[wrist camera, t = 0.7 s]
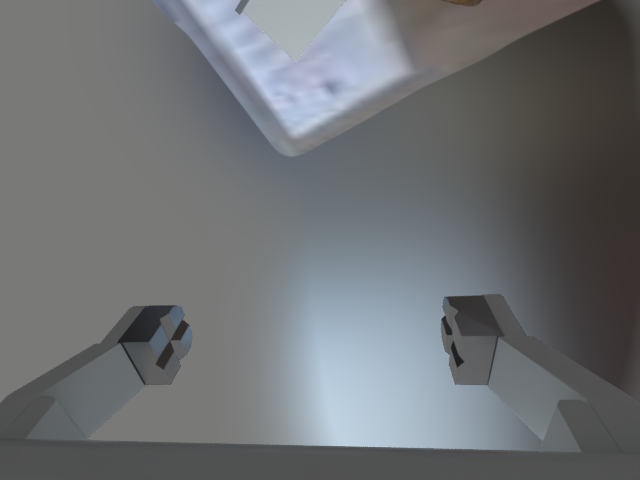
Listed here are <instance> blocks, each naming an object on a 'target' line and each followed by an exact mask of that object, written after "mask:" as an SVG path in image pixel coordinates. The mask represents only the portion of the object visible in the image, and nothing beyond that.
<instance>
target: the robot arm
mask: <svg viewBox="0 0 640 480" xmlns="http://www.w3.org/2000/svg"><path fill="white" fill-rule="evenodd" d="M443 310H444V313H445V316H444V317H443V318H442V320H441V333H442V340H443V345H444V349H445V351H446V352H447V353H448V354H449V355H450V359H449V366H450V369H451V372H452V376H453V379H454V382H455V384H460V385H488V387H489V388H490V389H491V390H492V391H493V392H494V393H495V394H496V395H497V396H498V397H499V398H500V399H501V400H502V401H503V402H504V403H505V404H506V405H507V406H508V407H509V408H510V409H511V410H512V411H513V412H514V413H515V414H516V415H517V416H518V417H519V418H520V419H521V420H522V421H523V422H524V423H525V424H526V425H527V426H528V427H529V428H530V429H531V430H532V431H533V432H534V433H535V434H536V435H537V436H538V437H539V438H540V439H541V440H542V441H543V442H542V444H541V447H540V450H539V451H515V450H473V449H433V448H391V447H387V448H386V447H345V446H300V445H299V446H298V445H260V444H258V445H257V444H221V443H180V442H179V443H178V442H138V441H96V440H89V439H88V438H89V437H90V436H91V435H92V434H93V433H94V432H95V431H96V430H98V429H99V428H100V427H101V426H102V425H103V424H104V423H105V422H106V421H107V420H109V418H111V417H112V416H113V415H114V414H115V413H116V412H118V411H119V410H120V409H121V408H122V407H123V406H124V405H125V404H126V403H128V402H129V401H130V400H131V399H132V398H133V397H134V396H135V395H136V394H138V393H139V392H140V391H141V390H142V389H143V388H144V387H145V385H166V384H172V382H173V380H174V378H175V376H176V374H177V372H178V370H179V369H180V367H181V365H180V361H179V360H180V359H182V358H183V357H184V356H186V355H187V353H188V351H189V349H190V347H191V343H192V331H191V329H190V326H189V324H187V323H186V322H185V321H183V318H184V316H185V314H184V312H183V310H182V308H181V307H180V306H177V305H166V306H164V305H157V306H134V307H131V308H130V309H129V310H128V311H127V312H126V314H124V316H123V317H122V318H121V319H120V320H119V321H118V323H117V324H116V325H115V326H114V327H113V329H112V330H111V331H110V332H109V333H108V335H107V336H106V337H105V338H104V339H103V340H102V342H101V343H100V344H94V345H92V346H91V347H89V348H87V349H85V350H84V351H82V352H80V353H79V354H77V355H75V356H74V357H72V358H70V359H69V360H67V361H65V362H63V363H62V364H60V365H58V366H57V367H55V368H53V369H52V370H50V371H48V372H47V373H45V374H43V375H42V376H40V377H38V378H36V379H35V380H33V381H32V382H30V383H28V384H26V385H24V386H23V387H21V388H20V389H18V390H16V391H14V392H13V393H11V394H9V395H8V396H7V397H6V398H5V399H4V400H3V401H2V402H1V403H0V480H640V405H639V404H638V403H637V402H636V400H635V399H633V398H632V397H630V396H629V395H627V394H625V393H624V392H622V391H621V390H619V389H617V388H616V387H614V386H613V385H611V384H609V383H608V382H606V381H604V380H603V379H601V378H600V377H598V376H596V375H595V374H593V373H592V372H590V371H588V370H587V369H585V368H583V367H582V366H580V365H578V364H577V363H575V362H574V361H572V360H571V359H569V358H567V357H566V356H564V355H563V354H561V353H559V352H558V351H556V350H554V349H553V348H551V347H550V346H548V345H546V344H545V343H543V342H542V341H540V340H538V339H537V338H535V337H534V336H527V335H526V334H525V332H524V330H523V329H522V327H521V326H520V324H519V322H518V320H517V319H516V317H515V315H514V314H513V312H512V310H511V309H510V307H509V305H508V304H507V302H506V300H505V299H504V297H503V296H502V295H501V294H487V295H474V296H448V297H444V300H443Z"/></svg>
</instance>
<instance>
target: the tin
mask: <svg viewBox="0 0 640 480" xmlns="http://www.w3.org/2000/svg"><path fill="white" fill-rule="evenodd" d="M443 1H446V2H450V3H453V4H457V5H462V6H476V5H478V4H479V3H480V2H481V1H482V0H443Z"/></svg>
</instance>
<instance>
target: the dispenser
mask: <svg viewBox="0 0 640 480" xmlns="http://www.w3.org/2000/svg"><path fill="white" fill-rule="evenodd" d="M345 1H346V0H241V1H240V3H239V4H238V6H237V8H236V9H235V11H236V12H237V13H238V14H239V15H240V14H241V13H242V12H243V13H244V14H245V15H246V16H247V17H248V18H249V19H250V20H251V21H252V22H253V23H255V24H256V25H257V26H258V27H259V28H260V29H261V30H262V31H263V32H264V33H265V34H266V35H267V36H268V37H269V38H270V39H271V40H272V41H273V42H274V43H275V44H276V45H277V46H278V47H279V48H280V49H281V50H282V51H284V52H285V53H286V54H287V55H288V56H289V57H290V58H291V59H292V60H293V61H294V62H295V63H296V62H297V60H298V59H299V58H300V57H301V56H302V54H303V53H304V52H305V51H306V49H307V48H308V47H309V46H310V44H311V43H312V42H313V41H314V40H315V38H316V37H317V36H318V35H319V33H320V32H321V31H322V30H323V29H324V27H325V26H326V25H327V24H328V22H329V21H330V20H331V19H332V17H333V16H334V15H335V14H336V13H337V11H338V10H339V9H340V8H341V6H342V5H343V4H344V3H345Z"/></svg>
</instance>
